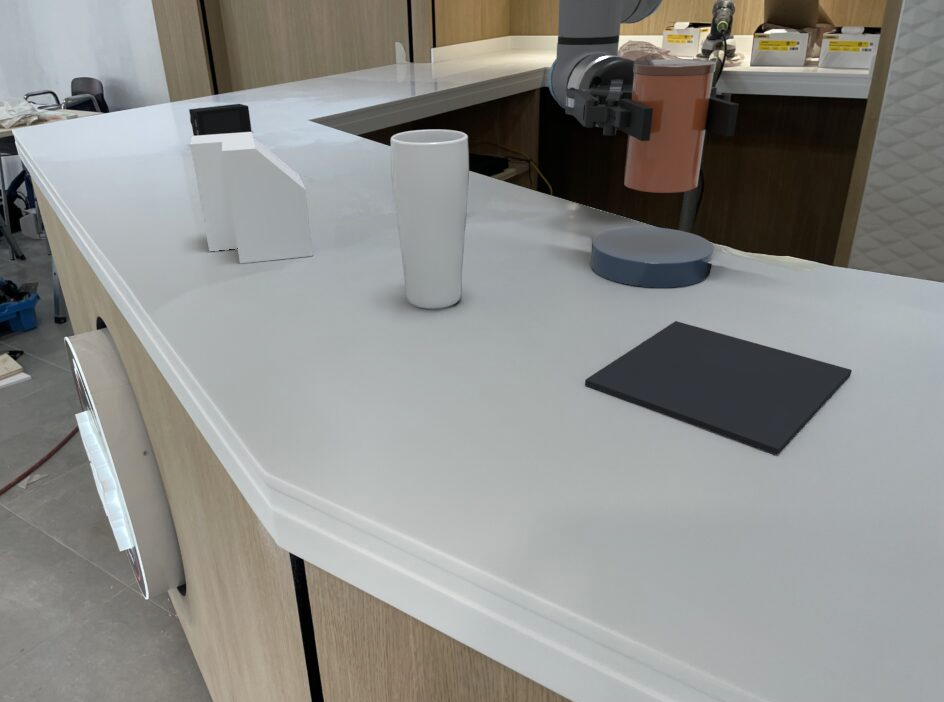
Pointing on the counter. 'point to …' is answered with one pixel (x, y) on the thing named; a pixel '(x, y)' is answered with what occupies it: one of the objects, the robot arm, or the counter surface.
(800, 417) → the mat
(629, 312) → the counter surface
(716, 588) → the counter surface
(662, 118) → the canister
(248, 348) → the counter surface
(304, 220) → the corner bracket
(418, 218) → the drinking glass
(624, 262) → the dish
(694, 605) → the counter surface
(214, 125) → the digital camera
